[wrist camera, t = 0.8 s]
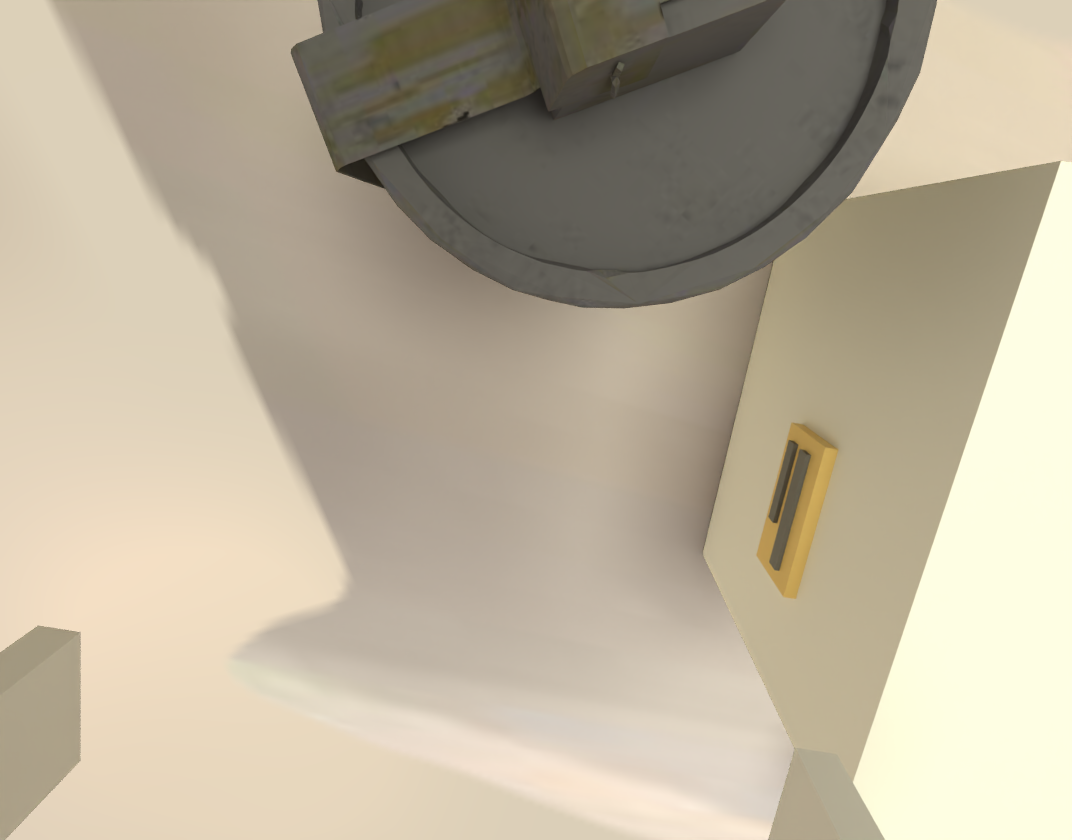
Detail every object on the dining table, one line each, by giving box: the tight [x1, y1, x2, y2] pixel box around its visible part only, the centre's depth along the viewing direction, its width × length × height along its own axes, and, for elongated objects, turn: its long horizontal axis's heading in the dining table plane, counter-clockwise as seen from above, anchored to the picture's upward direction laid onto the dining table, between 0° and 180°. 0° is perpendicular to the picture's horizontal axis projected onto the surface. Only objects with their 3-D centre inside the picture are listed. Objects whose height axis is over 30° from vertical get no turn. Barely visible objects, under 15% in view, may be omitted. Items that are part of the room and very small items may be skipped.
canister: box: [291, 0, 937, 308], centre depth 18 cm, size 11×10×20 cm
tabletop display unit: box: [703, 161, 1072, 840], centre depth 23 cm, size 16×9×16 cm, turn 171°
